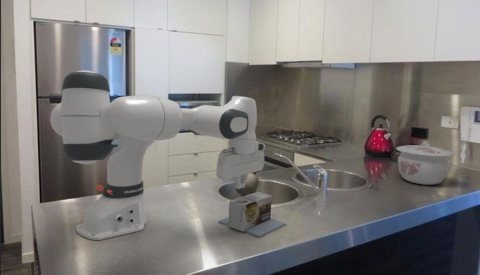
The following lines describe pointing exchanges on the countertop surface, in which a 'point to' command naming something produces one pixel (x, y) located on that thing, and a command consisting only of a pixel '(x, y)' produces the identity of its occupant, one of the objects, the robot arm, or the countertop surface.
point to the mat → (259, 227)
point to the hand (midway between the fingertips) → (240, 187)
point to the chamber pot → (424, 163)
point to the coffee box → (249, 210)
